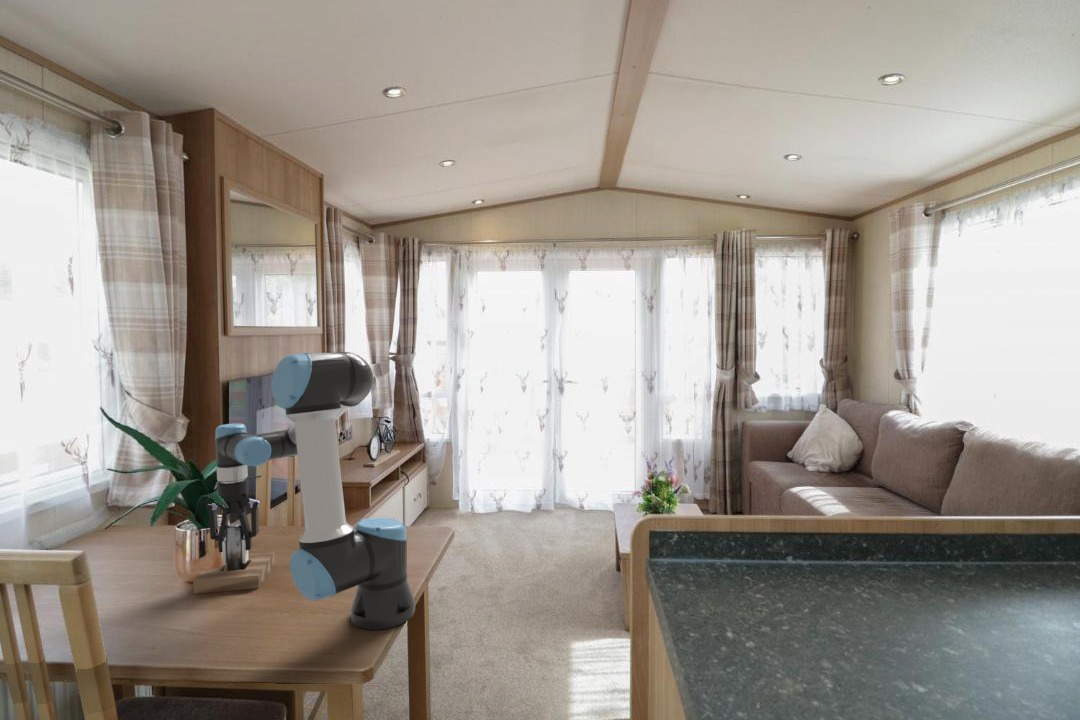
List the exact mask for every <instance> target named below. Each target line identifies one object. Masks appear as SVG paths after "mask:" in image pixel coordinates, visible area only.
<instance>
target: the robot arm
mask: <svg viewBox="0 0 1080 720" xmlns="http://www.w3.org/2000/svg"><path fill="white" fill-rule="evenodd" d="M271 380H272V381H271V393H272V394H271V395H272V398H273V399H274V403H275V404H276V406H277V407H279V408H282V409H284V410H285V417H287V418H288V419H289V420H290V421H292V422H293V423H292V424H290V426H289V427H288V428H286V429H282V430H278V431H272V432H265V433H263V432H262V433H257V434H248V431H247V427H246V425H245V424H244V423H226V424H220V425H218V426H217V427H216V428H215V437H214V441H215V457H216V480H217V481H218V482H217V485H216V486H217V487H216V488H217V496H218V495H219V496H221V498H223V499H224V501H225V502H226V504H227V505H228V506H229V508H224V507H223V506H222V505H216V504H215V503H212V504H209V503H208V504H206V506H205V509H206V511H207V513H208V520H209V534H210V535H209V536H210V540H211V539H212V541H213V540H214V539H215V540H214V541H217V542H218V553H222V556H223V565H226V564H227V550H226V526H227V525H229V520H230V515H232V514H237V517H238V520H239V523H240V524H241V527H242V531H243V534H244V539H243V540H242V559H243V563H246V562H247V561H248V559H249V557H248V554H249V551H250V550H251V549H252V547H253V546H252V545H253V543H252V541H253V539H252V538H254V537H256V536H257V535H258V534H259V531H260V530H259V525H260V524H259V521H260V520H259V507H260V504H261V502H262V501H261V499H252V498H251V496H250V494H249V479H248V476H249V474H248V467H259V466H261V465H263V464H265V463H267V461H273V460H277V459H283V458H284V459H285V458H289V457H295V456H297V461H298V470H299V480H300V481H299V482H300V490H301V501H302V509H303V518H304V519H303V522H304V531H303V532H302V534H301V535H300V536H299V538H298V542H299V543H298V545H299V549H296V550H295V551H294V552H293V553H292V554H291V556H290V559H289V569H290V573H291V577H292V580H293V583H294V584H295V586H296V588H297V590H298V591H299V593H301V595H302V596H304V598H306V599H307V600H310V601H313V602H317V601H321V600H324V599H327V598H332V597H334V596H335V595H337V594H340V593H343V592H344V591H346V590H347V591H348V590H349V589H352V588H355V587H356V586H357V587H356V591H355V594H354V597H353V600H352V603H351V604H352V605H351V607H350V621H351V623H352V624H353V625H354V626H355V627H357V628H360V629H364V630H370V631H377V630H385V629H391V628H395V627H397V626H400V625H402V624H405V623H406V622H407V621H409V620H410V619H411V618H412V617H413V616H414V614H415V611H416V601H415V597H414V595H413V592H412V590H411V589H412V588H411V587H410V583H409V581H408V560H407V559H408V557H407V541H408V537H407V528H406V525H405V524H404V523H403V522H402V521H400V520H398V519H394V518H390V517H389V518H388V517H371V518H364V519H360V520H359V521H358V522H356V526H355V529H354V526H352V525H350V523H348V521H347V519H346V510H345V501H344V492H343V483H342V473H341V472H342V471H341V464H340V461H341V460H340V454H339V444H338V443H339V442H338V435H337V425H336V421H337V420H338V419H339V418H340V417H341V416H342V415H343V414H345V412H347V410H349V408H352V407H357V406H358V405H360V404H361V403H362V402H363V401H364V400H365V399H366V398H367V397H368V395H369V394H370V393H371V391H372V388H373V384H374V374H373V371H372V368H371V366H370V364H369V363H368V362H367V360H366V359H364V358H363V357H362V356H360V355H358V354H357V353H356V354H355V353H354V352H350V351H338V352H301V353H297V354H295V353H294V354H288V355H286V356H284V357H282V358H281V359H280V360H279V362H278V363H277V364H276V367H275V369H274V371H273V375H272V379H271ZM229 483H230V484H229ZM248 505H249V507H250V508H251V511H250V512H251V513H250V516H251V517H250V522H251V523H250V522H249V520H248V516H247V510H246V508H247V506H248ZM218 507H219V508H220V510H221V511H222V513H221V521H220V525H219V524H218V523H219V522H218V511H217V509H218ZM214 510H215V511H214ZM250 525H251V526H250ZM218 526H219V527H218ZM215 530H216V532H217V534H216V533H215ZM355 530H356V531H355Z"/></svg>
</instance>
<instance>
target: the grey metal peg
mask: <svg viewBox="0 0 1080 720" xmlns="http://www.w3.org/2000/svg"><path fill="white" fill-rule="evenodd" d="M225 538H226V550H227V570H228V571H233V570H241V569H243V568H244V567H245V563H243V559H242V540H243V539H244V534H243V531H242V527H241V524H240V522H236V523H229V524H228V525H227V526H226V537H225Z"/></svg>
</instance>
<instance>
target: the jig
mask: <svg viewBox="0 0 1080 720" xmlns="http://www.w3.org/2000/svg"><path fill="white" fill-rule="evenodd" d="M248 557H249V559H248V561H247V562H246V563H245V567H244V568H243V569H241V570H233V571H228V570H227V564H226V565H222V566H220V567H218V568H215V569H212V570H208V571H204V572H202V571H200V573H199V574H198V575H197V576H196V577H195V579H193V580H192V588H193V591H192V592H193V594H194V595H195V594H206V593H207V594H208V593H219V592H230V591H240V590H252V589H253V590H255V589H259V588H260V587H261V585H262V584H263V582H264V581H265V579H266V578H267V576H268V575H269V573H270V572H271V570H272V569H273V567H274V565H275V564H276V563H275V552H274V551H273V552H262V553H261V552H260V553H251V554H249V553H248Z"/></svg>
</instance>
